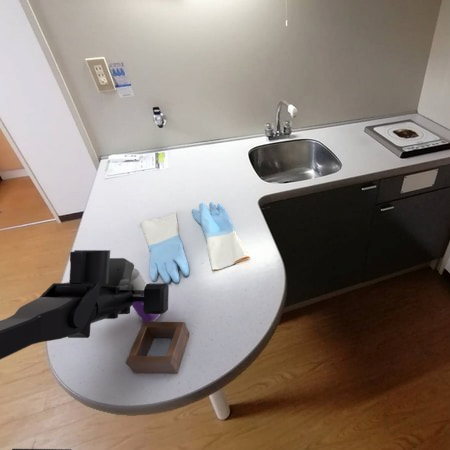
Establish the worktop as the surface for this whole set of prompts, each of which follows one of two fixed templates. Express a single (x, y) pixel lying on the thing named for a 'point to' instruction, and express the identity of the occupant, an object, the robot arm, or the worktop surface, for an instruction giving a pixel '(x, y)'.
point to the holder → (144, 340)
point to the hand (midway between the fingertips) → (143, 292)
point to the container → (140, 285)
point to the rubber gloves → (173, 247)
